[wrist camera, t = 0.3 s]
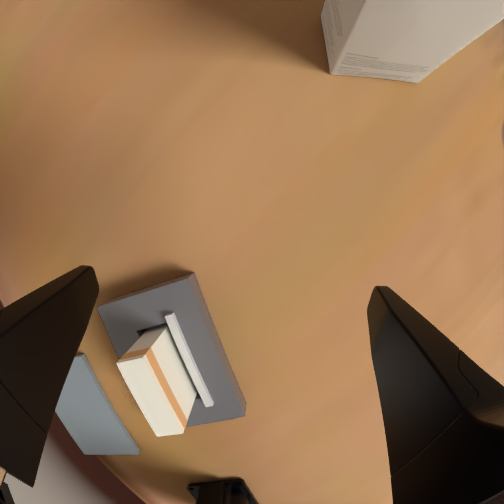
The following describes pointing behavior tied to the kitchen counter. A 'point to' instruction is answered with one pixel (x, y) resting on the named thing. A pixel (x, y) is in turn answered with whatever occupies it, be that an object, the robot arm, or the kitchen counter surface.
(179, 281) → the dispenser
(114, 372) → the kitchen counter surface
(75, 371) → the mat
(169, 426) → the tan banded white slab
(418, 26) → the skincare box
